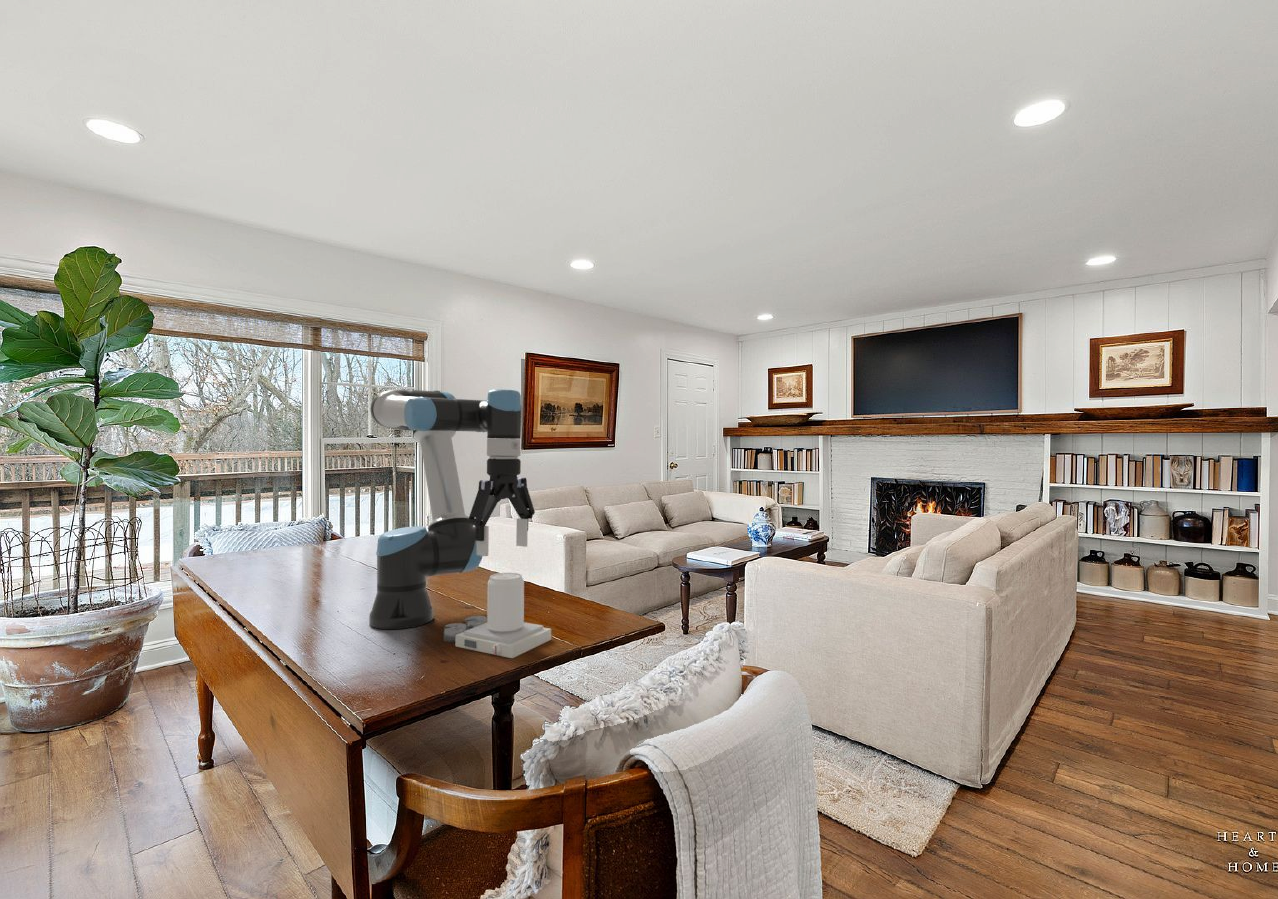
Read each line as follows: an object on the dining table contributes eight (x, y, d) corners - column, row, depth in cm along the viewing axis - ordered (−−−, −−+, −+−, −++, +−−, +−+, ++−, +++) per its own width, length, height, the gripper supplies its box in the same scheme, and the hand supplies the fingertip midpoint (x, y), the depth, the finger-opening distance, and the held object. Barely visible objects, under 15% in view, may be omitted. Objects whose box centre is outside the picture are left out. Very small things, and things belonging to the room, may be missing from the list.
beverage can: (515, 635, 133) (515, 580, 133) (481, 632, 135) (481, 578, 135) (529, 624, 141) (529, 573, 141) (496, 622, 143) (496, 571, 143)
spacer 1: (439, 640, 140) (439, 627, 140) (454, 634, 145) (454, 622, 145) (455, 644, 138) (455, 630, 138) (470, 637, 142) (470, 625, 142)
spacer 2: (460, 632, 146) (460, 619, 146) (475, 626, 151) (475, 614, 151) (476, 635, 144) (476, 622, 144) (491, 629, 148) (491, 617, 148)
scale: (453, 647, 135) (453, 632, 135) (497, 629, 148) (497, 616, 148) (510, 659, 128) (510, 643, 128) (551, 639, 141) (551, 625, 141)
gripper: (478, 459, 126) (477, 561, 126) (549, 457, 148) (548, 543, 148) (451, 458, 129) (450, 558, 130) (525, 456, 151) (524, 541, 152)
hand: (503, 550), depth 139 cm, fingers open, 13 cm apart
